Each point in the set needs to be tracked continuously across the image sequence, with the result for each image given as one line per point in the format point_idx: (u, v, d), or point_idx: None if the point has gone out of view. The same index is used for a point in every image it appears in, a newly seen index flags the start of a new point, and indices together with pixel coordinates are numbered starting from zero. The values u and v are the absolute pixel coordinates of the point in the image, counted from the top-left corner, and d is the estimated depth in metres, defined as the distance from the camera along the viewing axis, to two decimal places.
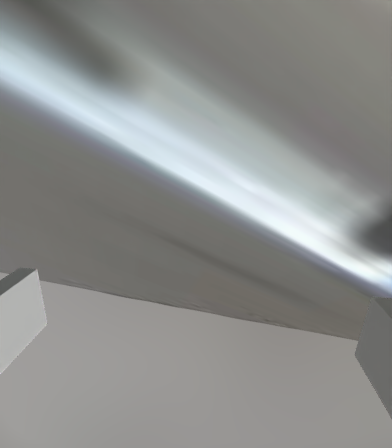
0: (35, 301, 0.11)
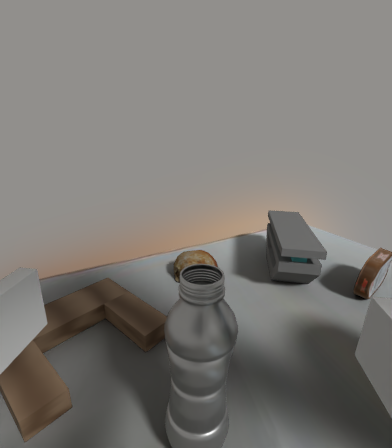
0: (35, 301, 0.11)
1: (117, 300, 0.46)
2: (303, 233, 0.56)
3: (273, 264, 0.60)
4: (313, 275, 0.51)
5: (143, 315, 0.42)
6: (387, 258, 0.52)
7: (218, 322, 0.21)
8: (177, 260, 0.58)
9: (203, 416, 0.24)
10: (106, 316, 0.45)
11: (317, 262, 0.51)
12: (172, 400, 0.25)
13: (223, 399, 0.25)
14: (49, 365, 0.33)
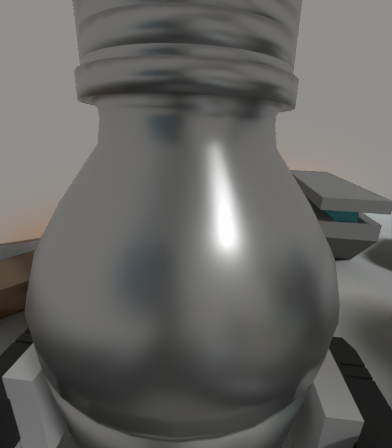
0: None
1: None
2: (344, 186, 0.39)
3: None
4: (366, 242, 0.34)
5: None
6: None
7: (276, 216, 0.04)
8: None
9: None
10: None
11: (372, 222, 0.34)
12: None
13: None
14: None
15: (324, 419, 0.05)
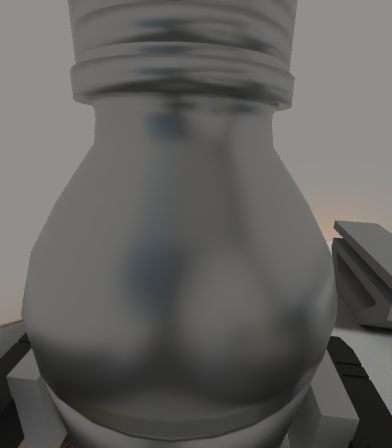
0: None
1: None
2: None
3: (359, 301, 0.41)
4: None
5: None
6: None
7: (272, 215, 0.04)
8: None
9: None
10: None
11: None
12: None
13: None
14: None
15: (320, 417, 0.05)
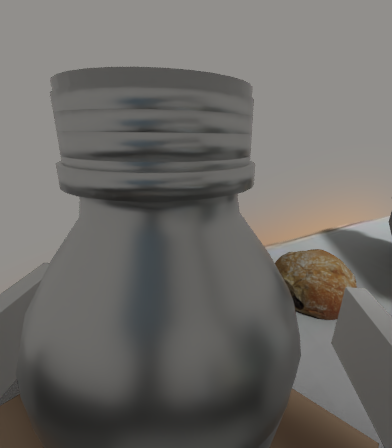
0: None
1: None
2: None
3: None
4: None
5: (298, 427, 0.15)
6: None
7: (231, 293, 0.04)
8: (283, 268, 0.32)
9: None
10: None
11: None
12: None
13: None
14: None
15: None
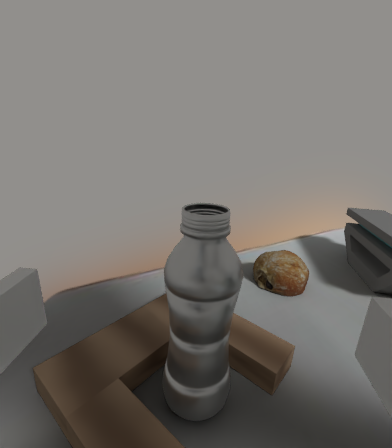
0: (35, 301, 0.11)
1: None
2: None
3: (373, 272, 0.49)
4: None
5: (256, 339, 0.31)
6: None
7: (223, 259, 0.19)
8: (260, 262, 0.48)
9: (204, 368, 0.22)
10: None
11: None
12: (171, 354, 0.23)
13: (226, 352, 0.23)
14: (160, 425, 0.21)
15: None
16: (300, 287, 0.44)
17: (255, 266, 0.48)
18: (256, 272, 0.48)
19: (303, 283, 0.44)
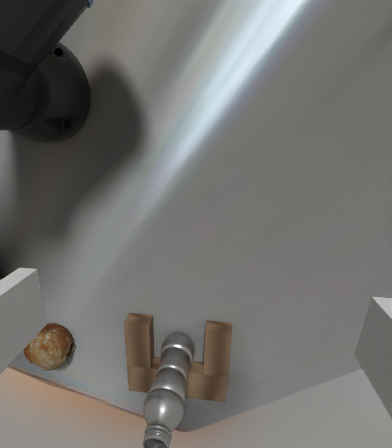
0: (35, 301, 0.11)
1: (140, 364, 0.54)
2: None
3: None
4: None
5: (135, 339, 0.52)
6: None
7: (164, 411, 0.39)
8: (58, 365, 0.56)
9: (182, 359, 0.48)
10: (153, 357, 0.57)
11: None
12: (187, 373, 0.49)
13: (170, 357, 0.47)
14: (205, 351, 0.52)
15: None
16: (56, 330, 0.55)
17: (62, 364, 0.57)
18: (66, 359, 0.58)
19: (52, 331, 0.55)
